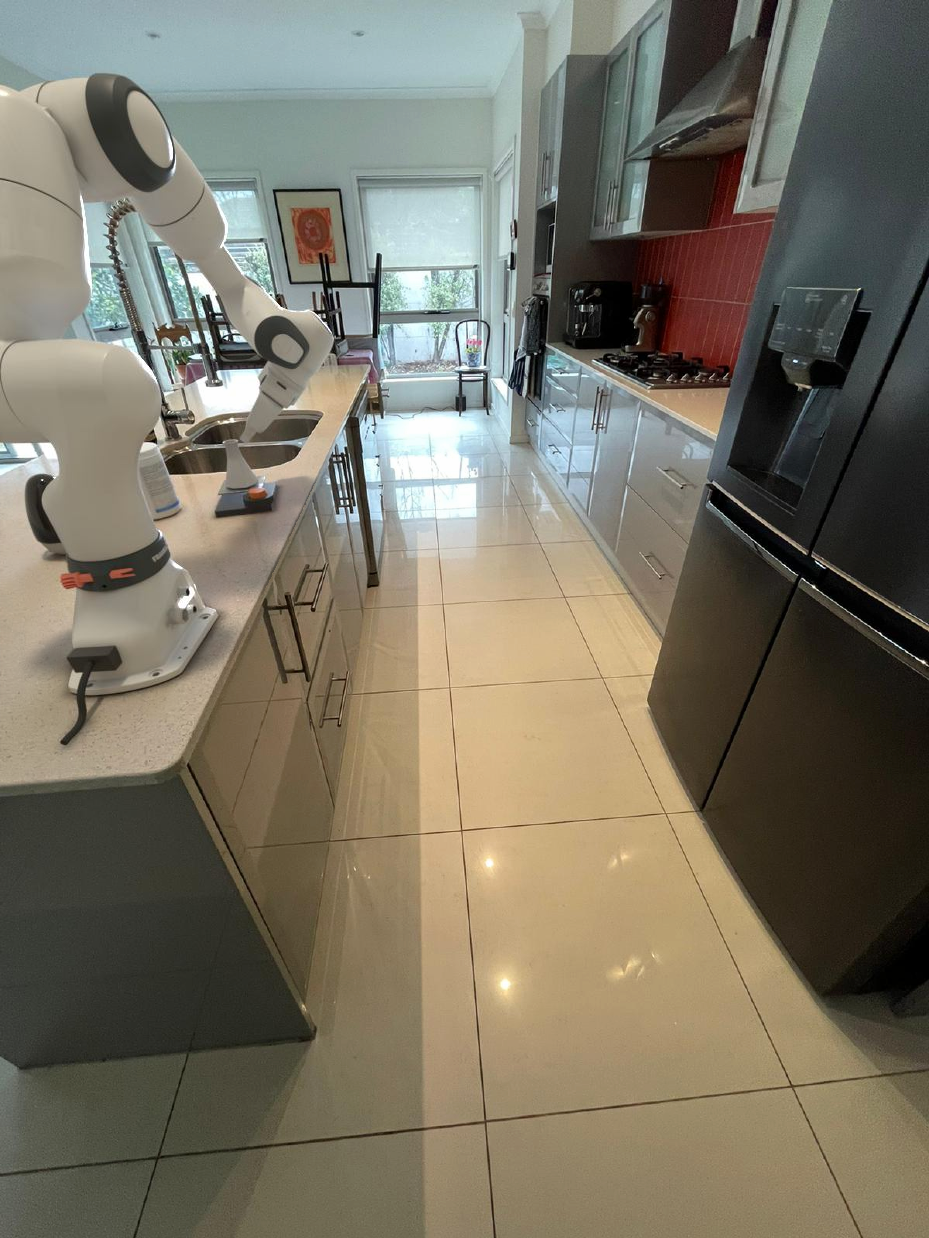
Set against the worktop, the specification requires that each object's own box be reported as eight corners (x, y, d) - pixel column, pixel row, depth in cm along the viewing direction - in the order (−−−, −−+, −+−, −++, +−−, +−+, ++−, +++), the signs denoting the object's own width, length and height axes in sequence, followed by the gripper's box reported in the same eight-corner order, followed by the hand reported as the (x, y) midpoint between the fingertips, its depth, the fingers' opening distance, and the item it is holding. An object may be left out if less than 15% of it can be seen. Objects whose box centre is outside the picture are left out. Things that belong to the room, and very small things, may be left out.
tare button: (266, 498, 115) (264, 492, 115) (249, 500, 115) (247, 494, 114) (267, 493, 118) (265, 486, 118) (251, 495, 118) (249, 488, 117)
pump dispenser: (115, 544, 105) (81, 470, 96) (59, 565, 98) (17, 487, 89) (91, 533, 109) (57, 462, 101) (36, 552, 102) (-6, 478, 94)
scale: (275, 511, 116) (271, 498, 114) (216, 518, 114) (211, 505, 112) (279, 486, 129) (276, 475, 128) (226, 492, 127) (223, 480, 126)
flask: (248, 490, 118) (235, 446, 113) (220, 489, 120) (206, 445, 114) (264, 479, 124) (253, 437, 118) (237, 478, 125) (225, 436, 120)
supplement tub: (183, 502, 123) (160, 439, 114) (180, 517, 115) (155, 450, 107) (138, 509, 120) (112, 445, 112) (132, 524, 113) (103, 457, 104)
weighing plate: (261, 490, 119) (261, 489, 119) (218, 495, 117) (217, 493, 117) (265, 477, 127) (265, 475, 126) (224, 481, 125) (224, 480, 125)
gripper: (270, 367, 119) (238, 415, 123) (262, 382, 103) (225, 437, 106) (294, 386, 122) (262, 433, 126) (291, 404, 106) (254, 457, 110)
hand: (245, 435), depth 116 cm, fingers open, 8 cm apart
